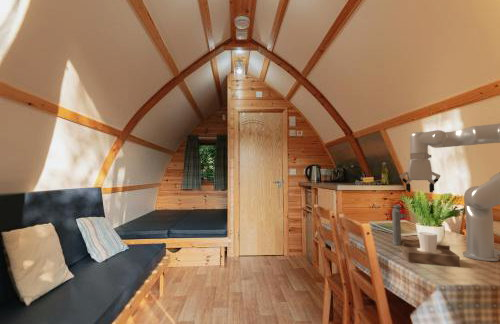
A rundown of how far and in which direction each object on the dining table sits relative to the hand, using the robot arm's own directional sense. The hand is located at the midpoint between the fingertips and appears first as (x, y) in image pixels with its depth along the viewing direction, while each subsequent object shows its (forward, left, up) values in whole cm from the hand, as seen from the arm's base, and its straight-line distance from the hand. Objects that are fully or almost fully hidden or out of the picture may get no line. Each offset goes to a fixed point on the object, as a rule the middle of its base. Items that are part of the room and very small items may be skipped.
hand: (419, 192), depth 136 cm
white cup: (+1, +17, -24) cm, 30 cm away
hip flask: (+8, -16, -29) cm, 34 cm away
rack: (+1, +17, -28) cm, 33 cm away
